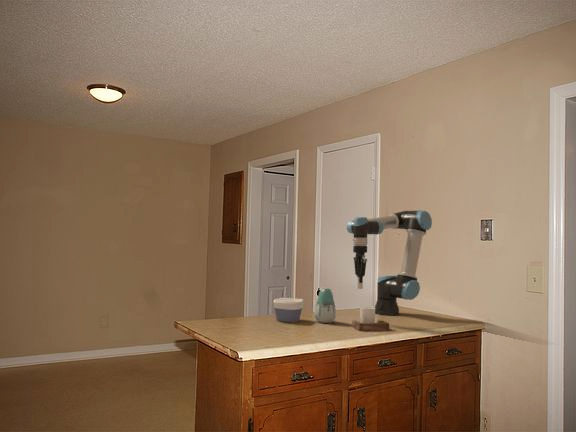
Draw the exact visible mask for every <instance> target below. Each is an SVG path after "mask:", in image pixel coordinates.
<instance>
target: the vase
mask: <svg viewBox="0 0 576 432" xmlns="http://www.w3.org/2000/svg"><path fill="white" fill-rule="evenodd" d="M336 316H337V310H336V305H335V300H334V295H333V292H332V289H330V288H322V289H321V290H320V291H319V293H318V296H317V301H316V303H315V308H314V318H315V319H316V320H315V321H317V322H318V323H322V324H330V323H333V322H334V321H335V319H336Z"/></svg>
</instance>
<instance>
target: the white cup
mask: <svg viewBox="0 0 576 432" xmlns="http://www.w3.org/2000/svg"><path fill="white" fill-rule="evenodd" d="M375 309H376V308H375V306H360V308H359V311H360V312H359V316H360V317H359V318H360V321H359V322H361V323H376V322H375V321H376V320H375V319H376V313H375Z"/></svg>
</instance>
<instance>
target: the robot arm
mask: <svg viewBox="0 0 576 432" xmlns="http://www.w3.org/2000/svg"><path fill="white" fill-rule="evenodd" d="M432 225H433V219H432V217H431V215H430V213H429V212H428V211H427V210H420V209H418V210H402V211H399V212H394V213H390V214H389V215H386V216H379V217H374V218H368V217H366V216H365V217H364V216H361V217H360V216H357V217H356V216H355V217H354V219H353V220H349V221H348V222H347V224H346V230H347V233H349V234H353V239H352V241H353V244H352V245H353V247H352V252H353V253H354V254H355V256H354V257H353V261H354V264H353V265H354V274H355V276H356V289H357V290H358V289H359V290H363V288H364V287H363V286H364V283H363V282H364V281H363V280H364V277H365V276H366V268H367V261H368V258H366V255H365V254H366V253H368V246H367V245H368V235H381V234H382V233H383V232H384V231H385V230H388V229H391V230H397V229H399V230H405V231H406V232H407V238H406V244H405V247H404V248H405V249H404V254H403V260H402V264H401V269H400V272H398V273H397V275H380V276H378V277H377V283H376V285H377V288H376V289H377V290H376V292H377V293H376V296H377V298H376V299H377V300H376V302H375V305H374V308H376V309H375V315H376V314H377V315H380V316H381V315H382V316H399V314H400V308H399V305H398V302H397V299H403V300H406V301H407V300H410V301H411V300H414V299H415V298H417V296H419V293H420V290H421V286H420V283H419V281H418V277H417V276H416V275H417V269H418V263H419V258H420V251H421V248H422V247H421V246H422V241H423V237H424V236H425V235H426V234H427V231H429V230H430V229H431V228H432Z"/></svg>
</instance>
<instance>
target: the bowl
mask: <svg viewBox="0 0 576 432" xmlns="http://www.w3.org/2000/svg"><path fill="white" fill-rule="evenodd" d="M272 303H273V307H274V313H275V318H276V321H277V322H281V323H282V322H283V323H296V322H297V323H298V321H300V319H301V316H302V315H301V314H302V311H303V307H304V303H305V301H304V299H301V298H294V297H293V298H292V297H279V298H276V299H274V300H273V302H272Z"/></svg>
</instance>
